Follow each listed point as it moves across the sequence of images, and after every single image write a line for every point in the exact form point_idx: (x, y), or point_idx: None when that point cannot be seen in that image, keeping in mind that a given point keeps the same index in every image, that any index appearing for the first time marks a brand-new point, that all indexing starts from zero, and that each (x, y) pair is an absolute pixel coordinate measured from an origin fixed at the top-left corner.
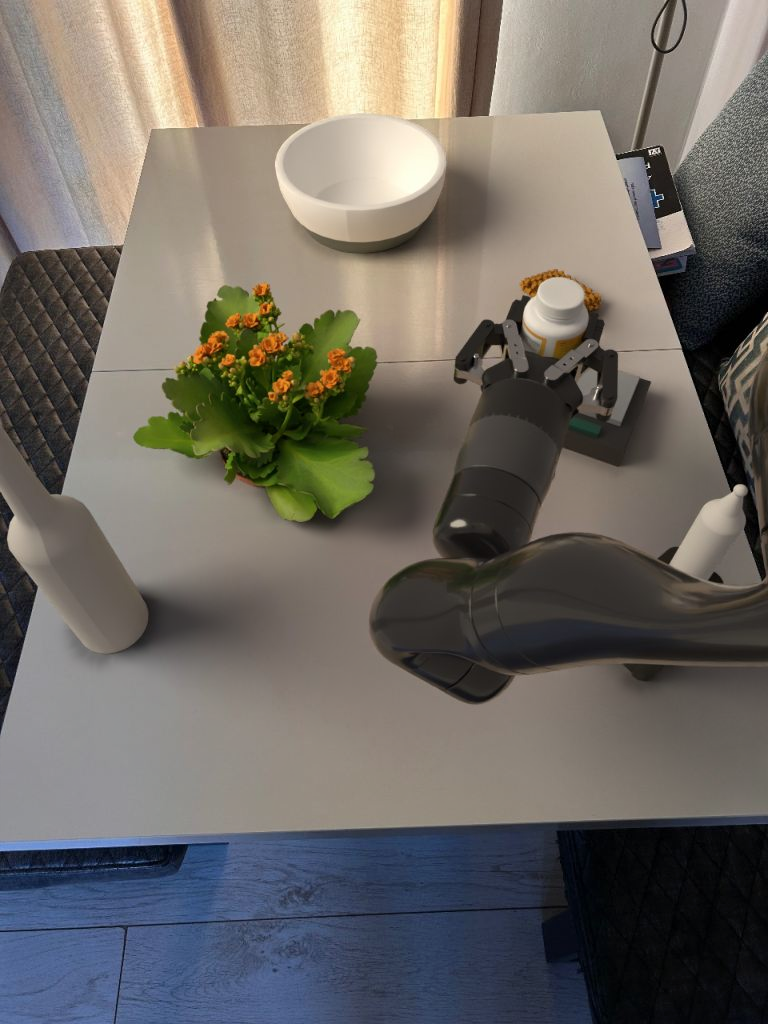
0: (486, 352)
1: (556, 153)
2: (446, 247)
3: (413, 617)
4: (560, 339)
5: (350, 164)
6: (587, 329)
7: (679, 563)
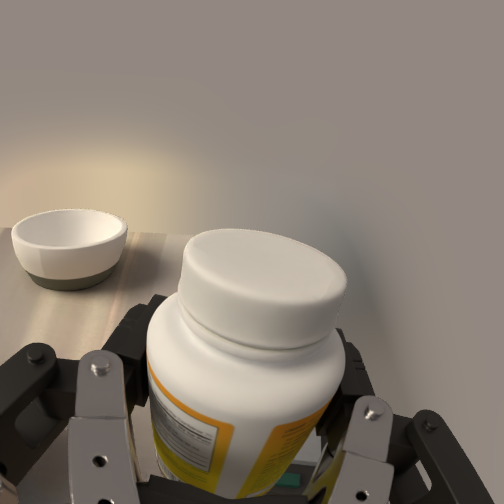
0: (54, 437)
1: None
2: (123, 291)
3: None
4: (287, 421)
5: (71, 239)
6: None
7: None
